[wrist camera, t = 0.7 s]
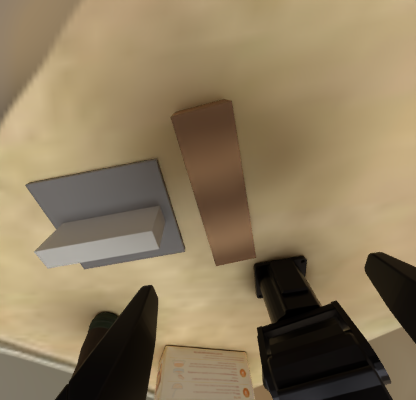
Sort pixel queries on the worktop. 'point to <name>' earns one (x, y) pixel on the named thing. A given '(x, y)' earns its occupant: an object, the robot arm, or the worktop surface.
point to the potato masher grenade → (95, 335)
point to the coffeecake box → (203, 375)
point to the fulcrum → (107, 216)
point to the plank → (217, 178)
